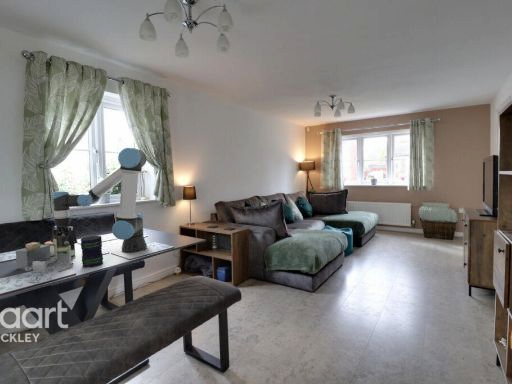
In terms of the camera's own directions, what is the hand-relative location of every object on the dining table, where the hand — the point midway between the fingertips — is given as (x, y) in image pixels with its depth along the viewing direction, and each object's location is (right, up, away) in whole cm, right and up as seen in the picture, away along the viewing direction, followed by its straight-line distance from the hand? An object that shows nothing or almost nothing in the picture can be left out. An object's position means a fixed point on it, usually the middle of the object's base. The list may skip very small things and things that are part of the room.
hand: (65, 254), depth 160 cm
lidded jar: (-13, -2, +10) cm, 16 cm away
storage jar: (+24, -3, -12) cm, 27 cm away
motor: (0, -3, -14) cm, 15 cm away
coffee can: (0, -2, 0) cm, 2 cm away
